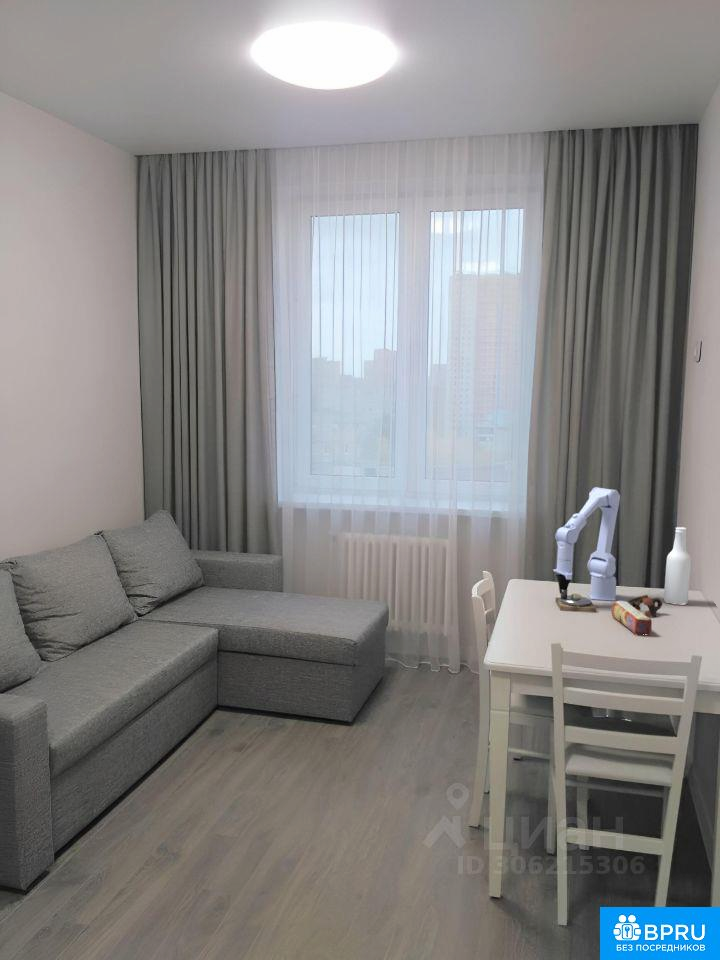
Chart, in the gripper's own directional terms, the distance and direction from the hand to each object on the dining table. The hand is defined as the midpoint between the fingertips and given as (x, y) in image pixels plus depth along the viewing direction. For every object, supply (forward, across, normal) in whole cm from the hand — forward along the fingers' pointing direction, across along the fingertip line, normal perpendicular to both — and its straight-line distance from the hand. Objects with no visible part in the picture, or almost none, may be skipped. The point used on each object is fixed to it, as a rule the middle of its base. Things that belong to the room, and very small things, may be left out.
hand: (562, 593), depth 295 cm
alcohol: (+4, -8, +47) cm, 48 cm away
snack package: (+5, +26, +18) cm, 32 cm away
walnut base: (+4, +2, +4) cm, 7 cm away
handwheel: (+3, +2, +4) cm, 6 cm away
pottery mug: (+5, +9, +29) cm, 30 cm away
